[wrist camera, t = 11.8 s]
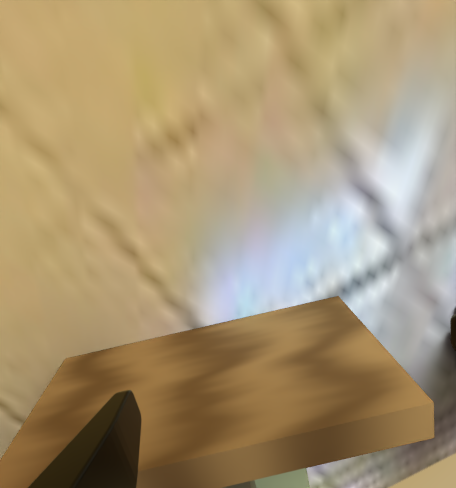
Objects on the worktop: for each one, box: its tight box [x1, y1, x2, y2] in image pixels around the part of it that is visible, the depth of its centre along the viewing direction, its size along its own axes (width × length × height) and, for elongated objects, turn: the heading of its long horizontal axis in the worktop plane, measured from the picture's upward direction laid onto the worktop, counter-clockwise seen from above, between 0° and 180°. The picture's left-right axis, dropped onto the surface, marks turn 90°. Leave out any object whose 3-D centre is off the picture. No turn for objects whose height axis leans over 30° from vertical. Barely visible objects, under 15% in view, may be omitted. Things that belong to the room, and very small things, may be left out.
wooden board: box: [0, 296, 434, 488], centre depth 19 cm, size 20×7×10 cm, turn 102°
